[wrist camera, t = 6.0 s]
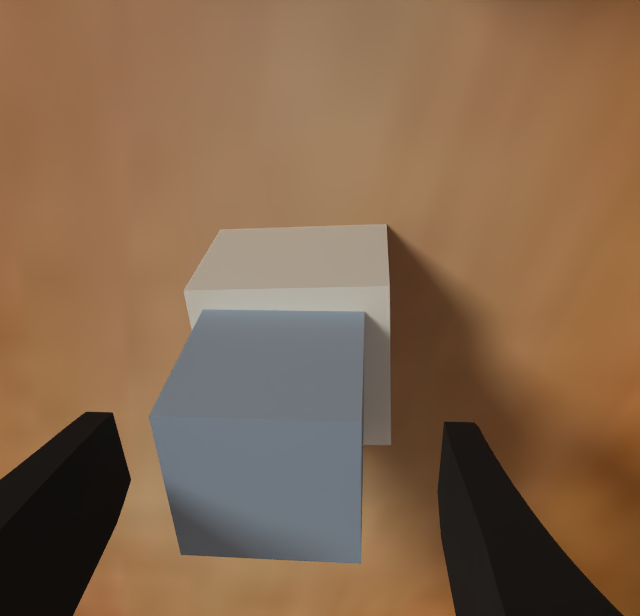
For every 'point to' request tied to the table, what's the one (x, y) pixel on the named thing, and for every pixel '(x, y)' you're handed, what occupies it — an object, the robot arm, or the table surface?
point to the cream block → (308, 290)
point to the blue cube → (266, 435)
